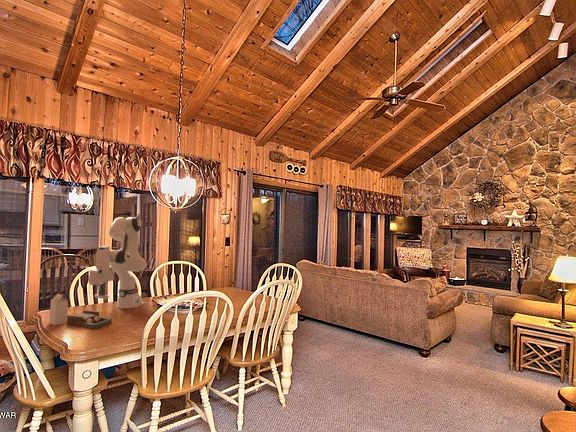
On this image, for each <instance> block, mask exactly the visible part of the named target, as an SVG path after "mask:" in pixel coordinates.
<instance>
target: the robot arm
mask: <svg viewBox="0 0 576 432" xmlns="http://www.w3.org/2000/svg"><path fill="white" fill-rule="evenodd" d="M142 227H143V221H142V219H141V218H140V217H138V216H131V217H126V218H125V217H122V216H118V217H116V218H115V219H114V221H113V223H112V224H111V226H110V228H109V231H108V232H109V234H108V235H109V236H110V238H111V239H113V240H114V241H117V242H119V243H120V244H121V245H120V249H110V246H108V245H100V246H98V247H97V249H96V252H95V260H96V261H95V262H96V263H95V266H94V267H93V268H91V269H89V272H88V273H89V277H88V284H89V285H90V286H94V285H96V287H97V291H98V290H101V287H100V283H105V289H106V288H107V285H108V283H109V282H111V281H114V280H115V273H116V274H117V277H118V279H119V289H118V295H117V302H116V304H115V306H116V308H117V309H135V308H139V307H141V306H143V305H144V304H145V303H146V302H145V301H143V297H142V296H141V295H140V294H139V293H137V291H139V288H138V287H136V278H135V277H134V276H132V275H131V274H129V273H128V272H141V271H144V270H145V268H146V267H147V262H146V260H145V258H144V257H142V256H141V255H140V251H139V243H140V242H139V241H140V235H139V231H140V230H141V228H142Z"/></svg>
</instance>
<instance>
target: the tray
mask: <svg viewBox="0 0 576 432" xmlns="http://www.w3.org/2000/svg"><path fill="white" fill-rule="evenodd" d="M99 317H100V321H99V322H93V323H84V322H83V323H82V327H81V328H83V329H90V330H96V329H100V328H102V327H105V326H108V325H110V324H112V318H109V317H103V316H102V317H101V316H99Z"/></svg>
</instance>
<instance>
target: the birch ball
mask: <svg viewBox="0 0 576 432" xmlns="http://www.w3.org/2000/svg"><path fill="white" fill-rule="evenodd" d="M100 317H101V316H100V315H99V316H96V317H94V319H93V320H94V322H99V321H100Z"/></svg>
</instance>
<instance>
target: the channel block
mask: <svg viewBox="0 0 576 432" xmlns="http://www.w3.org/2000/svg"><path fill="white" fill-rule="evenodd" d="M96 316H99V317H100V311H96V310H95V311H94V310H88V309H87V310H86V309H84V310H83V312H81V313H78V314H75V315H72V314H67V323H66V326H68V327H77V328H82V323H83V322H84V323H86V321H87V320H88V319H92V320H93V319H94V317H96ZM93 322H94V320H93Z"/></svg>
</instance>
